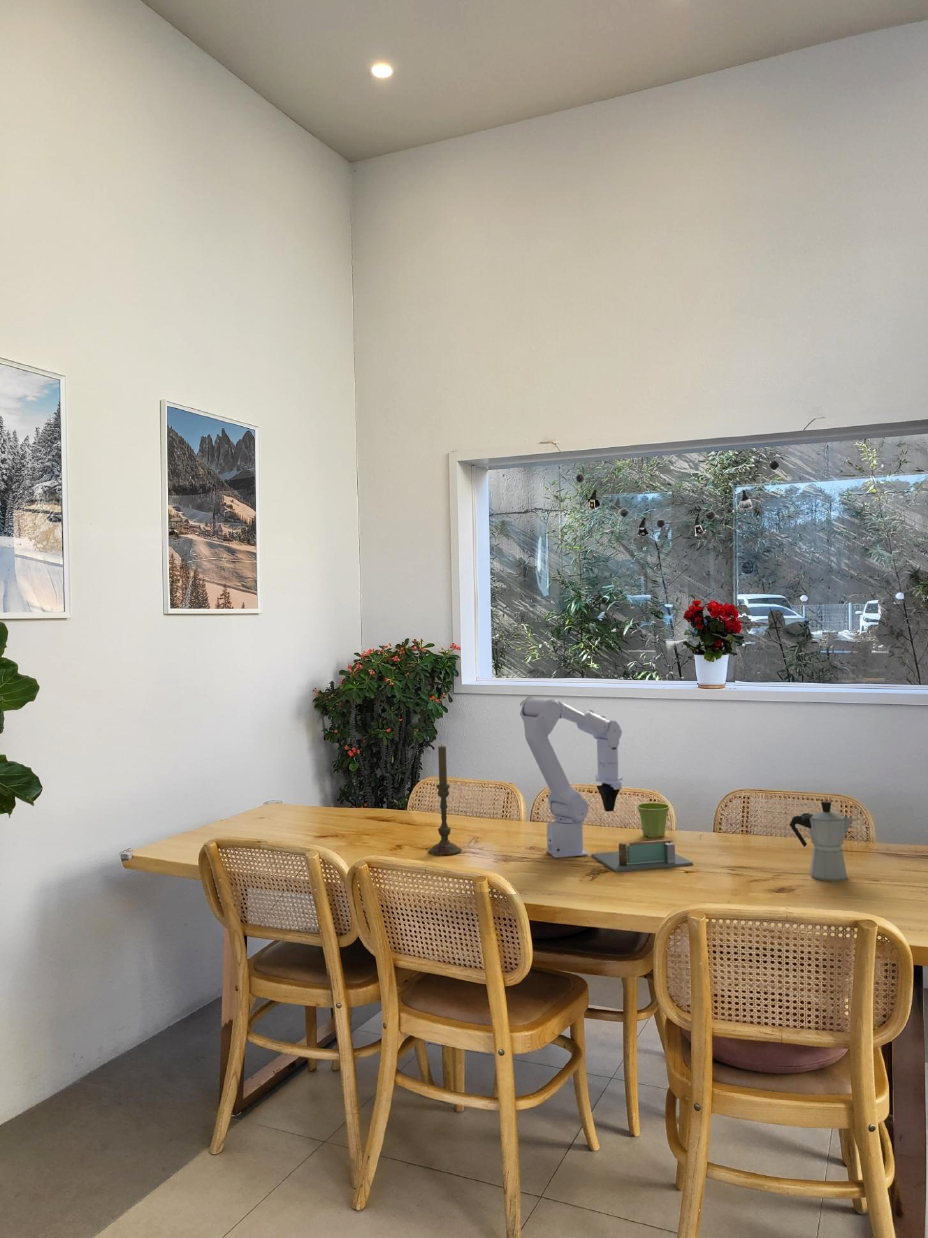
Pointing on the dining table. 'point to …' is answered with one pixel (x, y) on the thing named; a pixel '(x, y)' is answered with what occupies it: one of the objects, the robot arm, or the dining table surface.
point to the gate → (646, 851)
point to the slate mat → (613, 863)
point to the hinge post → (622, 854)
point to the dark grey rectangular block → (669, 853)
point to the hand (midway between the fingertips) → (609, 811)
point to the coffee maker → (825, 842)
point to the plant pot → (653, 818)
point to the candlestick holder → (443, 811)
